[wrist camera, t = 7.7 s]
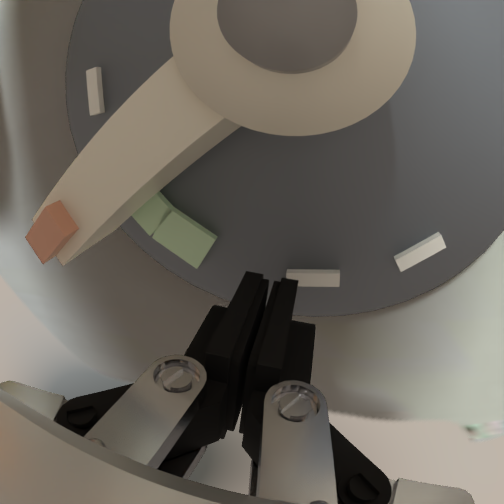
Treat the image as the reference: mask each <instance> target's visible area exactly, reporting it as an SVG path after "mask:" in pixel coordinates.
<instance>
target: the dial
mask: <svg viewBox="0 0 504 504" xmlns="http://www.w3.org/2000/svg"><path fill="white" fill-rule="evenodd" d="M409 1H410V3H411V6H412V10H413V13H414V17H415V25H416V46H415V51H414V56H413V60H412V63H411V66H410V68H409V71H408V73H407V75H406V77H405V79H404V80H403V82H402V84H401V85H400V87H399V88H398V89H397V91H396V92H395V93H394V94H393V96H392V97H391V98H390V99H389V100H388V101H387V102H386V103H385V104H384V105H382V106H381V107H380V108H379V109H378V110H376V111H375V112H373V113H372V114H371V115H369V116H368V117H366V118H364V119H362V120H360V121H358V122H356V123H355V124H353V125H350V126H347V127H345V128H342V129H339V130H336V131H332V132H328V133H323V134H318V135H308V136H282V135H274V134H267V133H263V132H259V131H255V130H252V129H249V128H246V127H243V126H241V127H239V128H238V129H237V130H235V131H234V132H233V133H231V134H230V135H229V136H227V137H226V138H225V139H223V140H222V141H221V142H219V143H218V144H217V145H215V146H214V147H213V148H211V149H210V150H209V151H208V152H206V153H205V154H204V155H202V156H201V157H200V158H199V159H197V160H196V161H195V162H194V163H192V164H191V165H190V166H189V167H187V168H186V169H185V170H184V171H182V172H181V173H180V174H179V175H178V176H176V177H175V178H174V179H173V180H172V181H170V182H169V183H168V184H167V185H166V186H164V187H163V188H162V189H161V190H160V191H159V192H157V193H156V194H155V195H154V196H153V197H152V198H150V199H149V200H148V201H147V202H146V203H145V204H144V205H142V206H141V207H140V208H139V209H138V210H137V211H136V212H135V213H133V214H132V215H131V216H130V217H129V218H128V219H127V220H126V221H125V222H124V223H122V224H121V225H120V227H121V228H122V230H123V231H124V232H125V233H126V234H127V235H128V236H129V237H130V238H131V239H132V240H133V241H134V242H135V243H136V244H137V245H138V246H139V247H140V248H141V249H142V250H143V251H145V252H146V253H147V254H148V255H150V256H151V257H152V258H153V259H155V260H156V261H157V262H158V263H160V264H161V265H162V266H163V267H165V268H166V269H167V270H169V271H171V272H172V273H174V274H176V275H177V276H179V277H180V278H182V279H184V280H185V281H187V282H189V283H190V284H192V285H194V286H196V287H198V288H200V289H202V290H204V291H207V292H209V293H211V294H213V295H215V296H217V297H220V298H222V299H225V300H228V301H231V300H232V298H233V296H234V294H235V292H236V290H237V288H238V286H239V284H240V282H241V280H242V278H243V276H244V274H245V272H246V271H250V272H255V273H260V274H263V275H264V278H263V279H268V280H269V287H268V294H267V301H266V305H267V302H268V299H269V296H270V292H271V289H272V286H273V283H274V281H279V282H281V278H288V279H294V280H299V281H298V287H297V293H296V298H295V304H294V309H293V314H292V315H298V316H311V317H317V316H341V315H350V314H356V313H362V312H368V311H374V310H378V309H382V308H385V307H388V306H392V305H395V304H398V303H401V302H405V301H407V300H410V299H412V298H414V297H416V296H419V295H421V294H423V293H425V292H427V291H430V290H432V289H434V288H436V287H437V286H439V285H441V284H442V283H444V282H445V281H447V280H449V279H450V278H452V277H453V276H455V275H457V274H458V273H460V272H461V271H462V270H464V269H465V268H466V267H467V266H468V265H470V264H471V263H472V262H473V261H474V260H476V259H477V258H478V257H479V256H480V255H481V254H483V253H484V252H485V251H486V250H487V249H488V248H489V246H490V245H491V244H492V243H493V242H494V241H495V240H496V239H497V237H498V236H499V235H500V234H501V233H502V232H503V231H504V0H409ZM173 4H174V0H83V1H82V4H81V6H80V9H79V12H78V14H77V17H76V20H75V23H74V27H73V31H72V35H71V39H70V43H69V48H68V56H67V65H66V103H67V110H68V116H69V123H70V128H71V132H72V136H73V139H74V143H75V146H76V149H77V153H78V155H79V154H80V152H81V151H82V150H83V149H84V147H85V146H86V145H87V144H88V143H89V141H90V140H91V139H92V138H93V137H94V136H95V134H96V133H97V132H98V131H99V130H100V129H101V128H102V126H103V125H104V124H105V123H106V122H107V121H108V120H109V119H110V117H111V116H112V115H113V114H114V113H115V112H116V111H117V110H118V109H119V108H120V107H121V106H122V105H123V104H124V103H125V101H126V100H127V99H128V98H129V97H130V96H131V95H132V94H133V93H134V92H135V91H136V90H137V89H138V88H139V87H140V86H141V85H142V84H143V83H144V82H145V81H147V80H148V79H149V78H150V77H151V76H152V75H153V74H154V73H155V72H156V71H157V70H158V69H159V68H160V67H162V66H163V65H164V64H165V63H166V62H167V61H168V60H169V59H170V58H172V57H173V53H172V48H171V42H170V18H171V11H172V7H173Z"/></svg>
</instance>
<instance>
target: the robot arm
mask: <svg viewBox="0 0 504 504" xmlns="http://www.w3.org/2000/svg"><path fill="white" fill-rule="evenodd" d="M263 278H264V275H263V274H260V273H255V272H250V271H246V272H245V274H244V276H243V278H242V280H241V282H240V284H239V286H238V288H237V290H236V292H235V294H234V296H233V298H232V300H231V302H230V304H229V306H228V308H226V307H221V306H217V305H214V306H213V307H212V308H211V309H210V311H209V313H208V315H207V316H206V318H205V320H204V322H203V323H202V325H201V327H200V329H199V330H198V332H197V334H196V335H195V337H194V339H193V341H192V342H191V344H190V346H189V348H188V349H187V351H186V353H185V355H184V356H183V355H171V356H165V357H163V358H160V359H158V360H156V361H155V362H154V363H153V364H151V366H150V367H149V368H148V369H147V370H146V371H145V372H144V373H143V374H142V375H141V376H140V377H139V378H138V379H137V381H136V382H135V383H133V384H129V385H125V386H121V387H117V388H114V389H110V390H106V391H101V392H97V393H93V394H88V395H84V396H80V397H76V398H73V399H70V400H69V401H68V400H66V399H65V397H64V396H62V395H58V394H55V393H51V392H47V391H44V390H41V389H37V388H34V387H31V386H27V385H24V384H21V383H18V382H14V381H6V382H2V383H0V504H474V500H473V498H472V496H471V495H470V494H469V493H468V492H467V491H466V490H463V489H460V488H455V487H448V486H441V485H434V484H428V483H422V482H417V481H412V480H406V479H402V478H399V479H398V480H397V481H395V480H390V479H388V478H387V476H386V475H385V474H384V473H383V472H382V471H381V470H380V469H379V468H378V467H377V466H376V465H374V464H373V463H372V462H371V461H370V460H369V459H368V458H367V457H365V456H364V455H363V454H362V453H361V452H360V451H359V450H358V449H357V448H356V447H355V446H354V445H353V444H351V443H350V442H349V441H348V440H347V439H346V438H345V437H344V436H343V435H342V434H341V433H340V432H339V431H338V430H336V428H335V427H334V426H332V425H331V424H330V423H329V417H328V410H327V403H326V400H325V397H324V396H323V394H322V393H321V392H320V391H319V390H318V389H317V388H315V387H314V386H313V385H310V379H311V370H312V360H313V350H314V338H315V324H309V323H304V322H298V321H292V314H293V309H294V304H295V298H296V293H297V287H298V281H299V280H294V279H288V278H281V282H279V281H274V283H273V286H272V289H271V292H270V296H269V299H268V302H267V305H266V301H267V294H268V287H269V280H268V279H263ZM242 404H243V405H242ZM241 408H242V413H241V421H240V429H239V432H240V433H243V434H244V435H243V441H242V447H243V448H244V449H245V451H246V452H247V453H248V454H249V456H250V457H251V458H252V461H251V471H250V483H249V495H245V494H240V493H236V492H231V491H227V490H223V489H219V488H215V487H212V486H208V485H204V484H201V483H197V482H194V481H191V480H188V478H189V477H190V475H191V474H192V472H193V470H194V469H195V467H196V466H197V464H198V463H199V461H200V459H201V458H202V456H203V454H204V453H205V451H206V448H207V445H208V444H211V443H213V442H216V441H218V440H219V439H220V438H221V439H224V437H225V434H226V432H227V430H230V431H234V429H235V426H236V423H237V420H238V417H239V414H240V411H241Z"/></svg>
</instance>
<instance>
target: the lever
mask: <svg viewBox="0 0 504 504" xmlns="http://www.w3.org/2000/svg"><path fill="white" fill-rule="evenodd" d="M170 42H171V48H172V53H173V57H172V58H170V59H169V60H168V61H167V62H166V63H165V64H164V65H163V66H162V67H160V68H159V69H158V70H157V71H156V72H155V73H154V74H153V75H152V76H151V77H150V78H149V79H148V80H147V81H145V82H144V83H143V84H142V85H141V86H140V87H139V88H138V89H137V90H136V91H135V92H134V93H133V94H132V95H131V96H130V97H129V98H128V99H127V100H126V101H125V103H124V104H123V105H122V106H121V107H120V108H119V109H118V110H117V111H116V112H115V113H114V114H113V115H112V116H111V117H110V119H109V120H108V121H107V122H106V123H105V124H104V125H103V126H102V128H101V129H100V130H99V131H98V132H97V133H96V134H95V136H94V137H93V138H92V139H91V140H90V141H89V143H88V144H87V145H86V146H85V147H84V149H83V150H82V151H81V152H80V154H79V155H78V156H77V157H76V159H75V160H74V161H73V162H72V164H71V165H70V166H69V168H68V169H67V170H66V172H65V173H64V174H63V176H62V177H61V178H60V180H59V181H58V182H57V184H56V185H55V187H54V188H53V189H52V191H51V192H50V194H49V195H48V196H47V198H46V199H45V201H44V202H43V204H42V205H41V207H40V208H39V210H38V211H37V213H36V214H35V216H34V217H33V219H32V221H33V222H34V224H33V226H32V227H31V229H30V231H29V232H28V234H27V235H26V237H25V238H26V239H27V241H28V242H29V244H30V246H31V247H32V249H33V250H34V252H35V253H36V255H37V256H38V258H39V259H40V260H41V262H42V263H43V264H44V263H46V262H47V261H49V260H50V259H52V258H53V257H55V256H56V257H57V258H58V260H59V261H60V263H61V264H62V265H63V266H64V265H65V264H67V263H68V262H70V261H71V260H72V259H74V258H75V257H77V256H78V255H80V254H81V253H82V252H84V251H85V250H87V249H88V248H90V247H91V246H93V245H94V244H96V243H97V242H99V241H100V240H101V239H103V238H104V237H106V236H107V235H109V234H111V233H112V232H114V231H115V230H116V229H117V228H118V227H119V226H120V225H121V224H122V223H124V222H125V221H126V220H127V219H128V218H129V217H130V216H131V215H132V214H133V213H135V212H136V211H137V210H138V209H139V208H140V207H141V206H142V205H144V204H145V203H146V202H147V201H148V200H149V199H150V198H152V197H153V196H154V195H155V194H156V193H157V192H159V191H160V190H161V189H162V188H163V187H164V186H166V185H167V184H168V183H169V182H170V181H172V180H173V179H174V178H175V177H176V176H178V175H179V174H180V173H181V172H182V171H184V170H185V169H186V168H187V167H189V166H190V165H191V164H192V163H194V162H195V161H196V160H197V159H199V158H200V157H201V156H202V155H204V154H205V153H206V152H208V151H209V150H210V149H211V148H213V147H214V146H215V145H217V144H218V143H219V142H221V141H222V140H223V139H225V138H226V137H227V136H229V135H230V134H231V133H233V132H234V131H235V130H237V129H238V128H239V127H241V126H243V127H246V128H249V129H252V130H255V131H259V132H263V133H267V134H274V135H282V136H308V135H318V134H323V133H328V132H332V131H336V130H339V129H342V128H345V127H347V126H350V125H353V124H355V123H356V122H358V121H360V120H362V119H364V118H366V117H368V116H369V115H371V114H372V113H373V112H375V111H376V110H378V109H379V108H380V107H381V106H382V105H384V104H385V103H386V102H387V101H388V100H389V99H390V98H391V97H392V96H393V94H394V93H395V92H396V91H397V89H398V88H399V87H400V85H401V84H402V82H403V80H404V79H405V77H406V75H407V73H408V71H409V68H410V66H411V63H412V60H413V56H414V51H415V46H416V25H415V17H414V13H413V10H412V6H411V3H410V1H409V0H174V4H173V7H172V11H171V18H170Z"/></svg>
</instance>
